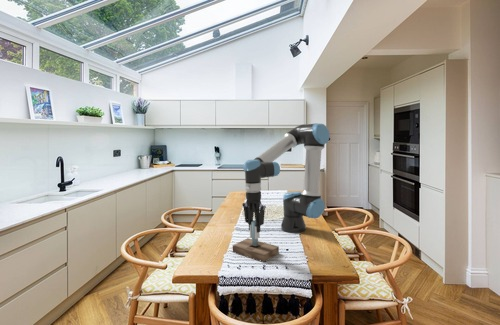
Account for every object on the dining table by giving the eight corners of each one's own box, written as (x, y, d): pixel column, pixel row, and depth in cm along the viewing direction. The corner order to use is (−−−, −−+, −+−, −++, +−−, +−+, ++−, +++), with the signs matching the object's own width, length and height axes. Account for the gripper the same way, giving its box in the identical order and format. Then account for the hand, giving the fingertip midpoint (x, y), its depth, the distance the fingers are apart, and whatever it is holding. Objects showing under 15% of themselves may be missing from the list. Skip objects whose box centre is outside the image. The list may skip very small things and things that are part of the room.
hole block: (247, 244, 150) (247, 238, 150) (278, 253, 137) (278, 246, 137) (232, 252, 141) (232, 245, 141) (264, 262, 128) (264, 255, 128)
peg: (254, 243, 141) (254, 220, 140) (259, 244, 139) (258, 221, 138) (250, 245, 139) (250, 221, 138) (255, 246, 137) (254, 222, 136)
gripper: (236, 190, 138) (238, 236, 141) (261, 194, 128) (262, 243, 131) (246, 188, 144) (247, 232, 146) (270, 191, 134) (271, 238, 136)
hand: (254, 237), depth 138 cm, fingers closed on peg, 2 cm apart
